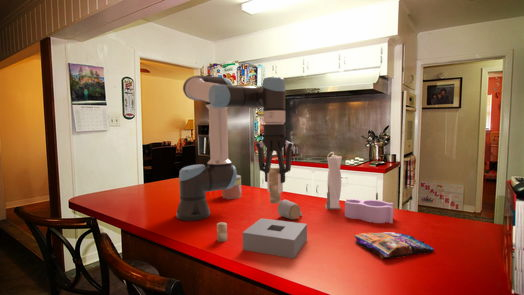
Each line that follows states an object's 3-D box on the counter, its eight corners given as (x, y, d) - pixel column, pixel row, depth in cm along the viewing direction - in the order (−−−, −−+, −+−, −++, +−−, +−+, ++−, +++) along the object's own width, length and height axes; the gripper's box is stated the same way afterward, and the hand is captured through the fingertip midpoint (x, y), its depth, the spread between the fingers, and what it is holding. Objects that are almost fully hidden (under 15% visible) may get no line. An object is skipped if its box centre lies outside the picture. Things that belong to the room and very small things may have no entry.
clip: (343, 219, 131) (343, 203, 131) (347, 211, 142) (347, 197, 142) (392, 225, 122) (392, 209, 122) (393, 216, 134) (393, 201, 133)
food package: (345, 241, 108) (346, 229, 107) (401, 233, 115) (402, 222, 115) (388, 269, 87) (388, 255, 86) (453, 257, 94) (453, 244, 94)
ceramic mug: (290, 221, 128) (290, 204, 127) (277, 217, 134) (277, 200, 133) (306, 217, 134) (306, 200, 134) (293, 213, 141) (293, 197, 140)
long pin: (268, 203, 102) (268, 168, 101) (272, 200, 105) (271, 167, 104) (278, 203, 100) (278, 168, 99) (281, 201, 103) (281, 167, 103)
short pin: (215, 240, 108) (214, 224, 107) (220, 237, 111) (220, 221, 110) (223, 242, 106) (223, 226, 106) (228, 238, 110) (228, 223, 109)
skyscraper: (323, 205, 154) (324, 151, 152) (339, 205, 154) (340, 151, 152) (326, 209, 146) (327, 153, 144) (343, 209, 146) (344, 153, 143)
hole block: (242, 249, 100) (242, 232, 99) (261, 233, 114) (261, 218, 114) (294, 258, 93) (294, 240, 92) (306, 240, 108) (306, 223, 107)
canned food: (240, 198, 168) (240, 178, 167) (220, 199, 168) (220, 178, 167) (242, 194, 179) (241, 174, 178) (223, 194, 179) (223, 174, 178)
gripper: (248, 124, 100) (249, 192, 102) (294, 123, 94) (294, 196, 96) (256, 124, 107) (257, 187, 109) (300, 123, 101) (300, 191, 103)
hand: (275, 191), depth 102 cm, fingers closed on long pin, 3 cm apart
